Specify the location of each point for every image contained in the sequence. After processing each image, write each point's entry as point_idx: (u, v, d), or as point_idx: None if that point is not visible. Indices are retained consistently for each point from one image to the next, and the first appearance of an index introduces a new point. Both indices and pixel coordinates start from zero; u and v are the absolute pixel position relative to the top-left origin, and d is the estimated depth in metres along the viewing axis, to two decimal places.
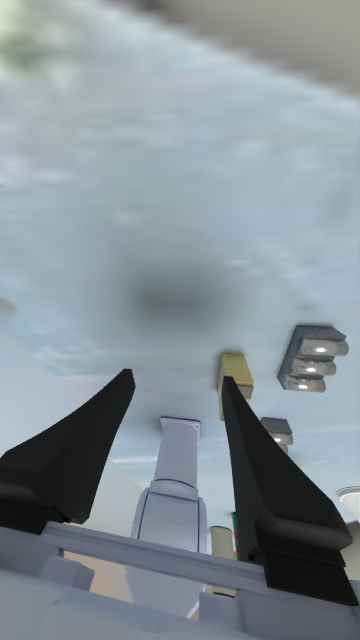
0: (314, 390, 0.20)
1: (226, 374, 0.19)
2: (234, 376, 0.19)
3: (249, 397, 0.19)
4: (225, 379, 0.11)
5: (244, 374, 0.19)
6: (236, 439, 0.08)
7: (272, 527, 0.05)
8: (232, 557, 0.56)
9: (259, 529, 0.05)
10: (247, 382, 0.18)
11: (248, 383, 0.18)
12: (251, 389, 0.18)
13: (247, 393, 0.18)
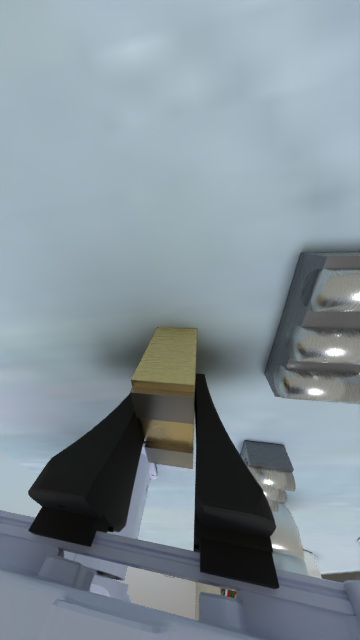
0: (341, 400, 0.09)
1: (140, 366, 0.08)
2: (155, 370, 0.08)
3: (190, 420, 0.08)
4: (196, 377, 0.11)
5: (181, 365, 0.08)
6: None
7: (204, 515, 0.05)
8: None
9: (200, 518, 0.06)
10: (180, 384, 0.07)
11: (182, 387, 0.07)
12: (190, 402, 0.07)
13: (183, 411, 0.07)
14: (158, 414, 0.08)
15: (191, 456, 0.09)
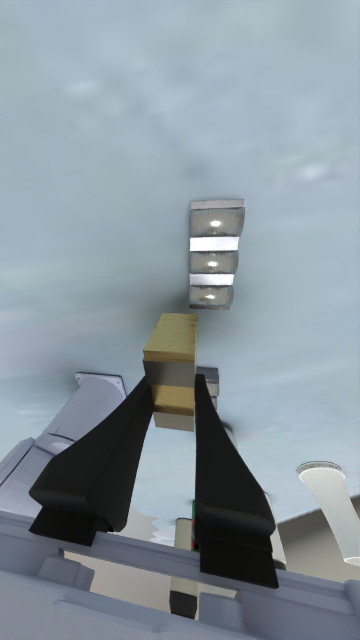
0: (219, 299, 0.14)
1: (149, 341, 0.10)
2: (162, 344, 0.09)
3: (191, 384, 0.09)
4: (196, 377, 0.11)
5: (184, 340, 0.10)
6: None
7: (204, 515, 0.05)
8: None
9: (200, 518, 0.06)
10: (183, 353, 0.09)
11: (185, 355, 0.09)
12: (191, 367, 0.09)
13: (186, 376, 0.09)
14: (165, 379, 0.10)
15: (192, 419, 0.11)
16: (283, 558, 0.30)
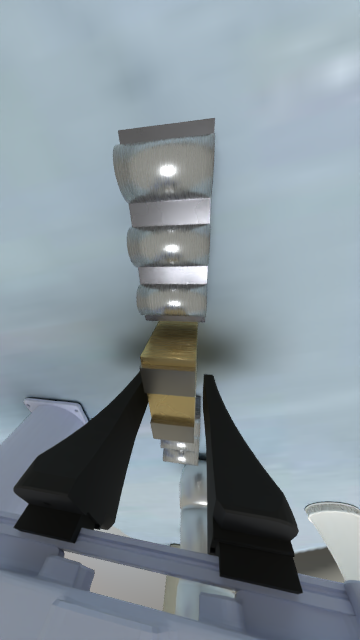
0: (186, 308, 0.09)
1: (147, 347, 0.09)
2: (161, 349, 0.09)
3: (192, 394, 0.09)
4: (205, 377, 0.11)
5: (184, 345, 0.09)
6: (208, 436, 0.08)
7: (224, 518, 0.05)
8: None
9: (217, 521, 0.06)
10: (183, 360, 0.08)
11: (185, 362, 0.08)
12: (192, 375, 0.08)
13: (186, 385, 0.08)
14: (163, 388, 0.09)
15: (192, 430, 0.10)
16: None
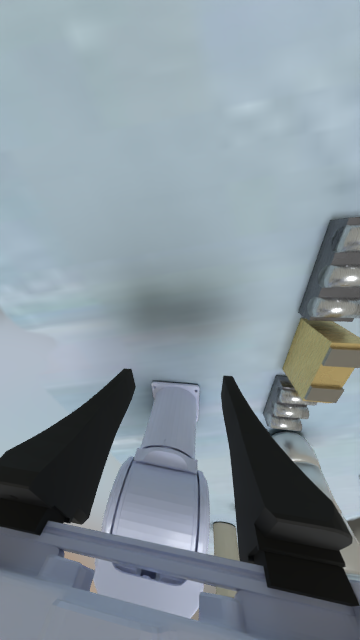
0: (354, 313, 0.14)
1: (325, 337, 0.15)
2: (338, 338, 0.14)
3: (358, 365, 0.14)
4: (225, 379, 0.11)
5: (349, 336, 0.15)
6: (236, 439, 0.08)
7: (272, 527, 0.05)
8: (237, 555, 0.50)
9: (259, 529, 0.05)
10: None
11: None
12: None
13: (358, 359, 0.14)
14: (340, 362, 0.14)
15: (341, 392, 0.16)
16: None
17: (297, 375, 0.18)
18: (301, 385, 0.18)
